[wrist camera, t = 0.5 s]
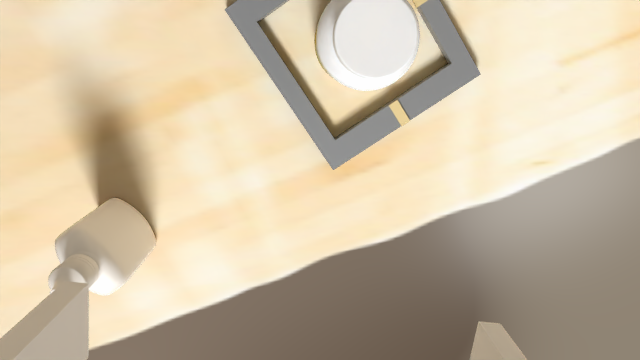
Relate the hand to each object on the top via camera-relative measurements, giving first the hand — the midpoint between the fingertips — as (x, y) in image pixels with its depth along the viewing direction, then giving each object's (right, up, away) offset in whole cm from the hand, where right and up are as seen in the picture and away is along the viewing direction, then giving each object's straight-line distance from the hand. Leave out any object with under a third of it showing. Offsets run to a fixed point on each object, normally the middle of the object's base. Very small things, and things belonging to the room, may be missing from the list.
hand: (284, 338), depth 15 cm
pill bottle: (+4, +16, +21) cm, 27 cm away
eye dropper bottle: (-15, +1, +24) cm, 29 cm away
